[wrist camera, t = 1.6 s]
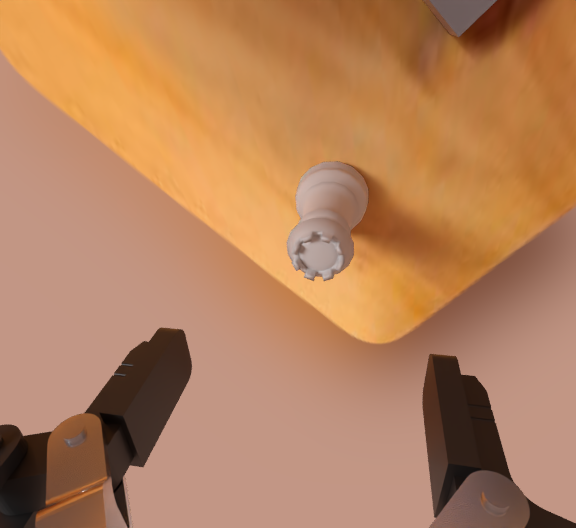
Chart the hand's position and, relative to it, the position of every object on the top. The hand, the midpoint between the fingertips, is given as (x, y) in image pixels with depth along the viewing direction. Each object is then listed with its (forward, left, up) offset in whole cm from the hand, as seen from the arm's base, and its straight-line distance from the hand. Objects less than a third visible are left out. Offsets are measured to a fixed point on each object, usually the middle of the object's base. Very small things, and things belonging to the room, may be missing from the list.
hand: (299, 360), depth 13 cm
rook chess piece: (0, 0, -15) cm, 15 cm away
